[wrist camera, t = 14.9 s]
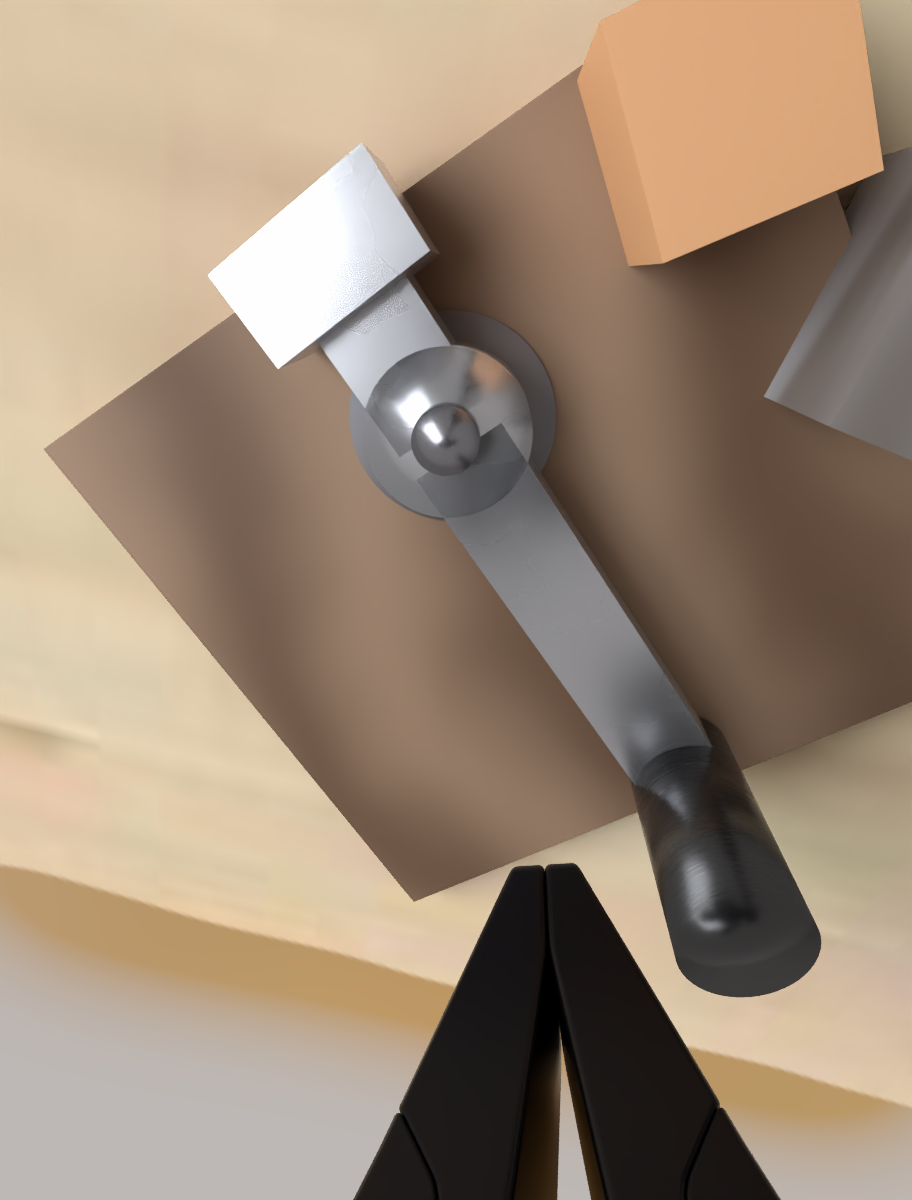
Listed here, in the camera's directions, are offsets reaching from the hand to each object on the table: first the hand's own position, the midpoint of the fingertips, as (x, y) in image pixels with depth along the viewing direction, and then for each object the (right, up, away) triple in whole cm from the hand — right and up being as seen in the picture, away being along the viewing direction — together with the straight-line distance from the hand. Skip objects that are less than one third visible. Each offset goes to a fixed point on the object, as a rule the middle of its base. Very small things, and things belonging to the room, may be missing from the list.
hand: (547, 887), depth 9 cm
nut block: (+3, +13, +5) cm, 14 cm away
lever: (+1, +5, +8) cm, 10 cm away
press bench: (+2, +6, +9) cm, 11 cm away
